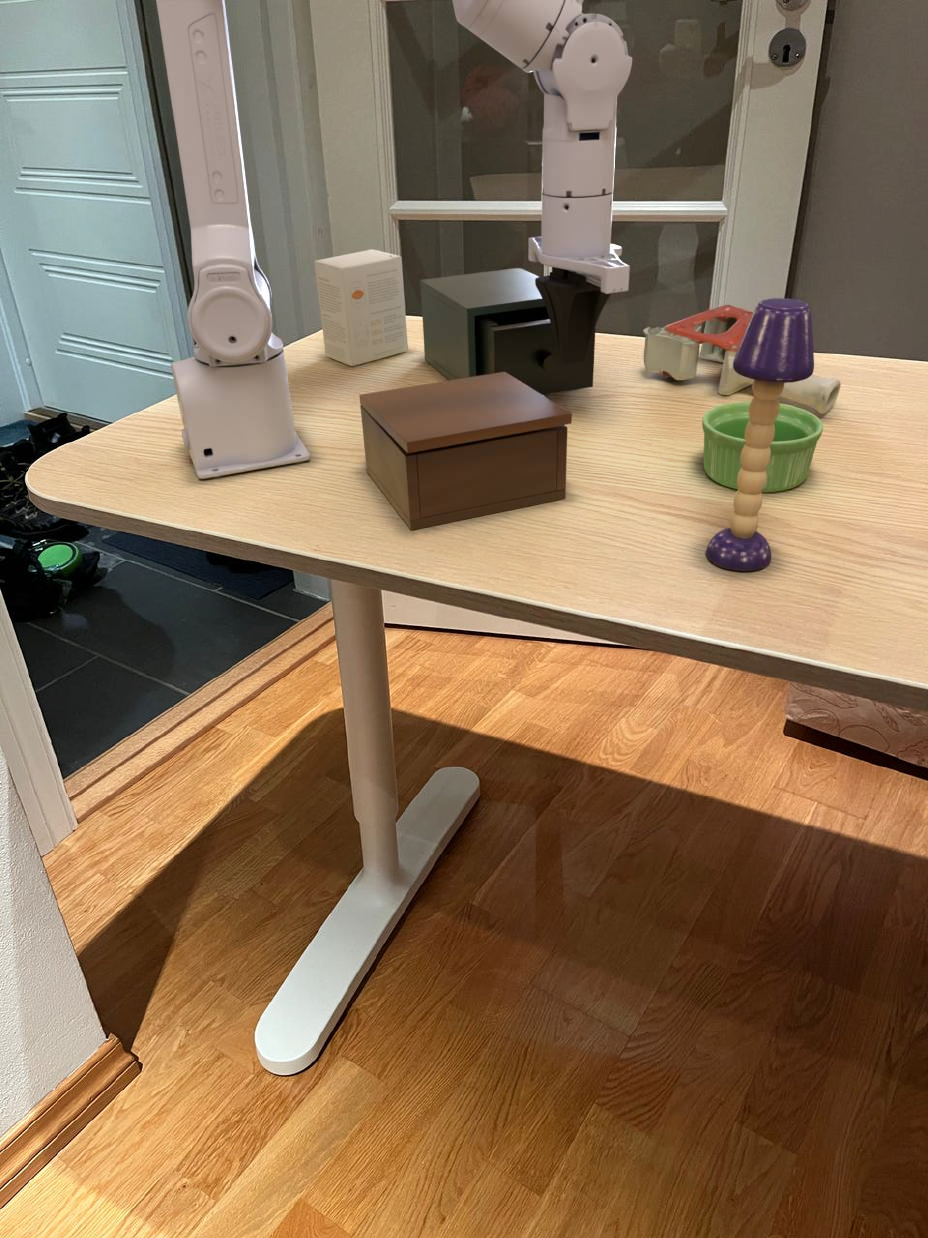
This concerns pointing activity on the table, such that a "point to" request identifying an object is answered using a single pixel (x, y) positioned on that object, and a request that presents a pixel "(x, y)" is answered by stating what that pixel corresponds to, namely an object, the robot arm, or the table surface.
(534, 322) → the drawer
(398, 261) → the small box
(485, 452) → the box
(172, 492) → the table surface
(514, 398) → the box lid
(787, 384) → the tape dispenser
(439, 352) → the cabinet
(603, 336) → the table surface
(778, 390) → the toy lamp
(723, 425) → the ramekin
